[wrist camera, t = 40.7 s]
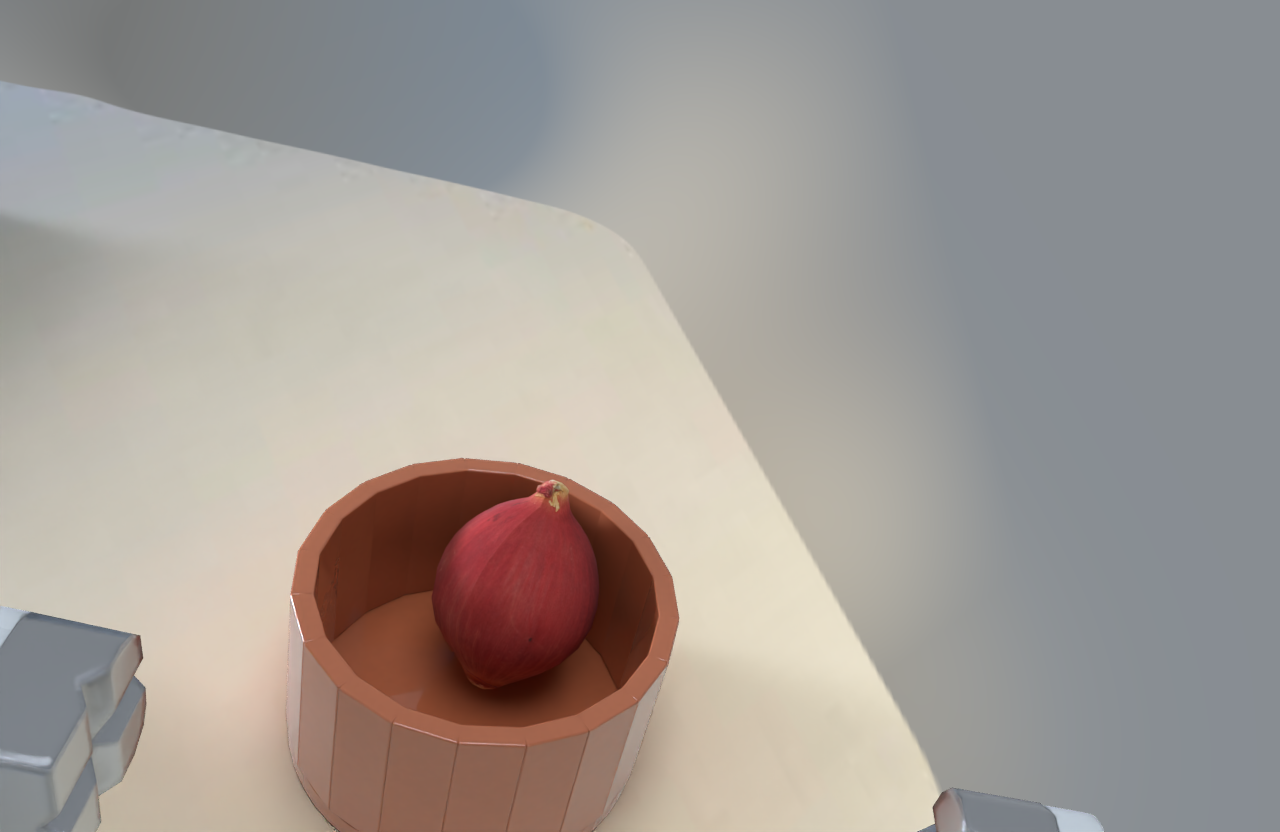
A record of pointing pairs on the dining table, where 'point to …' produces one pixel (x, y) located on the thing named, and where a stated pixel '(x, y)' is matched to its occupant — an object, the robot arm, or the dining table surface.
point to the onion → (517, 588)
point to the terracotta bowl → (435, 680)
